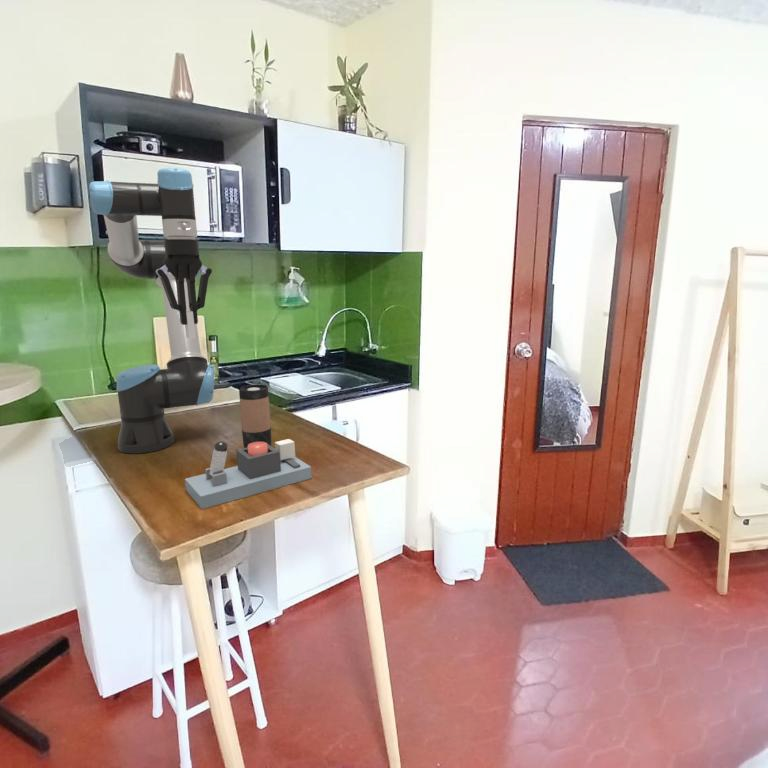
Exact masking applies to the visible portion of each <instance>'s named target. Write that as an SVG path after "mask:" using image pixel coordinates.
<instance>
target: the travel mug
mask: <svg viewBox="0 0 768 768" xmlns="http://www.w3.org/2000/svg"><path fill="white" fill-rule="evenodd" d="M238 392H239V393H238V394H239V395H238V396H239V406H240V407H239V409H240V422H241V434H242V441H243V448H247V447H248V444H250V443H253V442H266V443H267V444H269V445H270V446H272V426H271V424H272V422H271V411H270V410H271V409H270V399H269V386H268V385H266V384H259V383H258V384H246V385H242V386H241V387H240V389H238ZM272 447H273V446H272Z"/></svg>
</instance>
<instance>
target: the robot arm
mask: <svg viewBox="0 0 768 768" xmlns="http://www.w3.org/2000/svg"><path fill="white" fill-rule="evenodd" d="M88 187H89V198H90V205H91V210H92V212H93V213H94V214H96V215H102V216H103V218H104V223H105V227H106V232H107V235H108V240H109V242H108V243H107V254H108V257H109V259H110V261H111V262H112V264H113V265H115V267H116V268H117V269H119V270H120V271H122V272H123V273H125V274H126V275H129V276H131V277H134V278H137V279H144V280H145V279H147V280H148V279H149V280H150V279H151V280H152V279H155V282H156V285H157V286H158V287H160V288H162V295H163V304H164V310H165V318H166V327H167V334H168V342H169V350H170V356H171V358H170V359H168V361H167V362H166V368H161V367H160V366H159V365H158V364H144V365H138V366H135V367H131V368H128V369H125V370H123V371H121V372H119V373H118V374H117V376H116V380H115V383H116V389H115V390H116V392H117V396H118V405H119V413H120V420H121V422H120V423H121V424H120V428H119V429H120V430H119V432H118V433H119V434H118V439H117V448H118V449H117V450H118V451H119V452H121V453H125V454H147V453H151V452H152V453H153V452H155V451H161V450H163V449H166V448H167V447H168V448H169V447H170V446H172V444H174V441H175V439H174V437H175V436H174V432H173V431H172V429H171V427H170V425H169V423H168V420H167V418H166V416H165V414H166V413H165V409H170V408H171V409H173V408H181V407H183V408H184V407H189V406H199V405H205V404H209V403H210V402H212V401H213V398H214V391H215V390H214V388H215V368H214V367H215V366H214V365H212V364H208V359H207V358H206V357H205V356H204V355H202V352H201V345H200V339H199V331H198V322H199V319H198V310H200V309H202V308H204V307H205V305H206V296H207V291H208V283H209V277H210V276H211V274H212V273H213V270H212V269H211V268H209V267H206V266H205V265H203V262H202V260H201V258H200V249H199V242H198V240H197V239H196V238H197V237H198V229H197V218H196V210H195V209H196V208H195V198H194V184H193V177H192V173H191V172H190V171H189V170H187V169H184V168H178V167H177V168H176V167H164V168H160V169H158V170H157V183H145V182H122V181H109V180H105V181H103V180H102V181H99V180H98V181H92V182H90V183H89V186H88ZM137 216H142V217H143V216H147V217H148V216H150V217H152V216H153V217H161V224H162V233H163V237H164V238H166V239H165V240H140V239H139V237H140V236H139V229H138V218H137ZM199 276H200V279H199V284H198V292H197V291H196V279H197V278H198V277H199Z"/></svg>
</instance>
